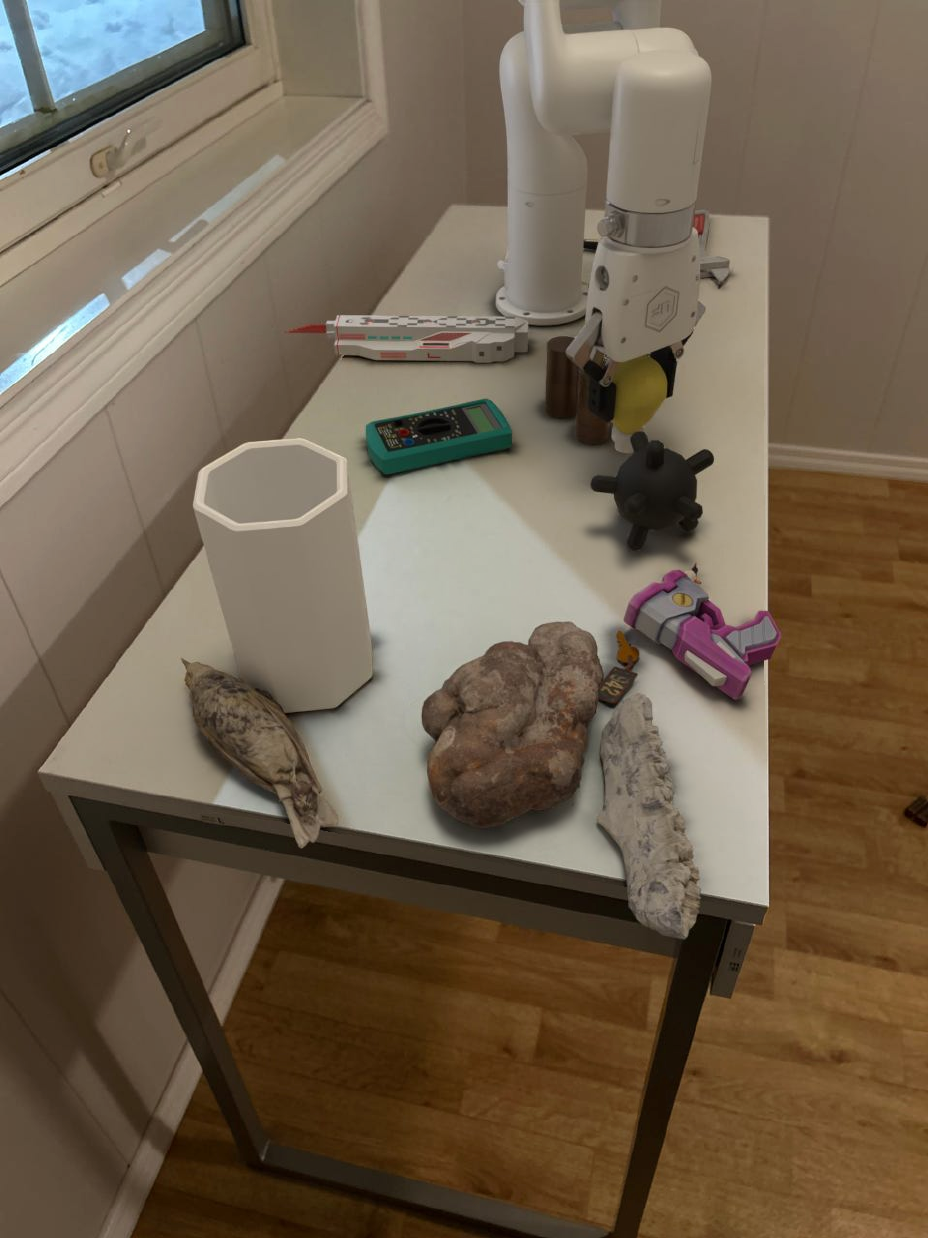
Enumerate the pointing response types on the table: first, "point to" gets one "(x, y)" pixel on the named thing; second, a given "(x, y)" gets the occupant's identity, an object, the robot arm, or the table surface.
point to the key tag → (619, 673)
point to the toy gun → (702, 631)
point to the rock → (514, 726)
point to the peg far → (560, 379)
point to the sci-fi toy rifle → (426, 337)
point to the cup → (287, 570)
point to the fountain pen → (590, 244)
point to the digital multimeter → (437, 436)
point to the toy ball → (655, 488)
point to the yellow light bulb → (636, 398)
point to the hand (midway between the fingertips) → (630, 402)
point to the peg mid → (588, 415)
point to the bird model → (259, 745)
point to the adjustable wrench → (708, 264)
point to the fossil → (647, 822)
